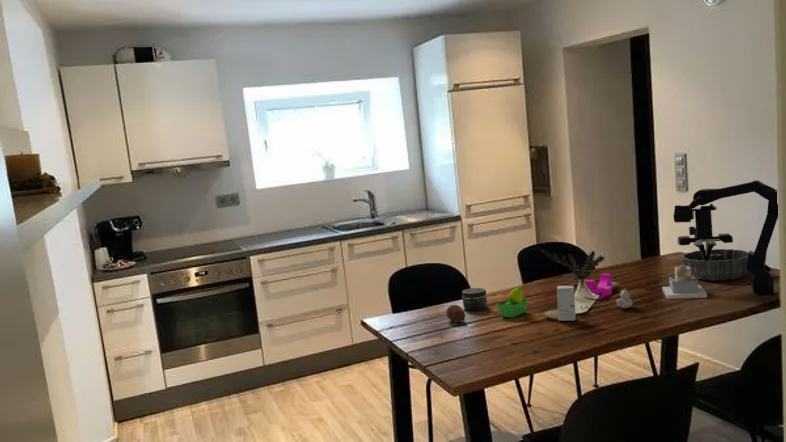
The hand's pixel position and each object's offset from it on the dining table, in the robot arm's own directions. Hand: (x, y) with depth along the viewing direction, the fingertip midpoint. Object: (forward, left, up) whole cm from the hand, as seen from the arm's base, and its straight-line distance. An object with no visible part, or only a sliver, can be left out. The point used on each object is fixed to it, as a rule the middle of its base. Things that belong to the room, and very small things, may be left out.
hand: (705, 261), depth 245 cm
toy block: (+40, -1, -12) cm, 42 cm away
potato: (+95, +32, -12) cm, 101 cm away
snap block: (+9, +3, -6) cm, 11 cm away
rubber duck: (+32, +21, -12) cm, 41 cm away
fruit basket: (+73, +25, -12) cm, 78 cm away
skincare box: (+53, +34, -12) cm, 64 cm away
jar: (+90, +14, -12) cm, 92 cm away
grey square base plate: (+9, +3, -12) cm, 15 cm away
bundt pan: (-8, -24, -12) cm, 28 cm away
